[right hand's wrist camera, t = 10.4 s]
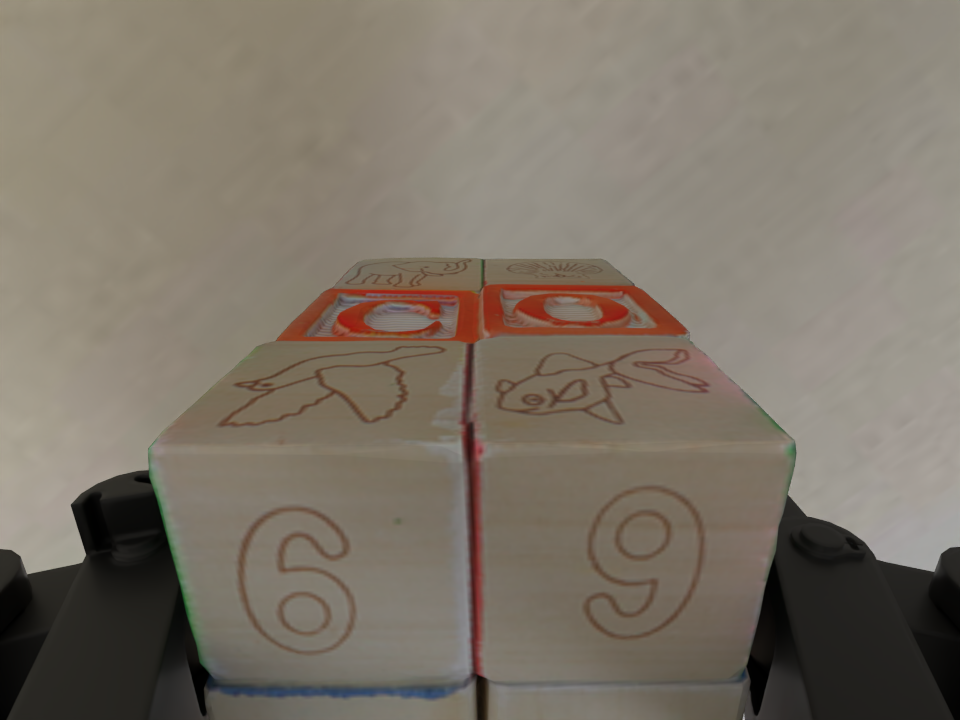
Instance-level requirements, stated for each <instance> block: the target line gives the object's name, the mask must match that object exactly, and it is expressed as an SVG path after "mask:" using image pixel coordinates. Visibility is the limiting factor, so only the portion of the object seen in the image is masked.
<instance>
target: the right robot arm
mask: <svg viewBox="0 0 960 720" xmlns="http://www.w3.org/2000/svg"><path fill="white" fill-rule="evenodd" d="M71 507H72V511H73V514H74V517H75V520H76V523H77V527H78V530H79V533H80V536H81V539H82V543H83V546H84V549H85V552H86V557H85V559H84V561H83V563H79V564H76V565H71V566H66V567H61V568H56V569H51V570H46V571H41V572H37V573H32V574H27V573H26V570H25V568H24V565H23V562H22V560H21V557H20V556H19V555H18V554H16V553H15V552H13V551H12V550H4V549H0V720H210V719H209V716H208V713H207V710H206V705H205V697H204V687H205V685H206V682H207V679H208V676H209V673H208V671H207V670H206V669H205V668H204V667H203V666H202V665H201V664H200V661H199V655H198V650H197V645H196V642H195V640H194V637H193V634H192V631H191V627H190V624H189V621H188V617H187V614H186V609H185V605H184V600H183V596H182V591H181V587H180V583H179V579H178V576H177V572H176V568H175V565H174V561H173V558H172V554H171V550H170V547H169V543H168V539H167V535H166V532H165V528H164V524H163V520H162V516H161V512H160V509H159V505H158V501H157V498H156V495H155V492H154V489H153V486H152V483H151V480H150V477H149V470H146V471H136V472H131V473H127V474H123V475H118V476H116V477H113V478H111V479H108V480H106V481H103V482H100V483H98V484H96V485H95V486H93V487H91V488H90V489H88V490H86V491H85V492H83V493H82V494H80V496H79V497H78V498H77V499H76V500H75V501H74V502H73V503H72V504H71ZM746 667H747V670H748V674H749V677H750V680H751V683H750V688H749V692H748V697H747V701H746V706H745V710H744V715H745V720H960V547H953V548H949V549H948V550H946V551H945V552H943V553H942V554H941V556H940V558H939V561H938V564H937V567H936V569H935V572H931V571H926V570H921V569H917V568H912V567H907V566H902V565H897V564H892V563H887V562H883V561H879V560H876V558H875V556H874V554H873V553H872V551H871V550H870V549H869V547H868V546H867V545H866V544H865V542H863V541H862V540H861V539H859V538H858V537H857V536H855V535H854V534H852V533H851V532H850V531H848V530H846V529H843V528H841V527H839V526H837V525H835V524H833V523H830V522H827V521H823V520H820V519H816V518H812V517H807V516H806V515H805V514H804V513H803V511H802V510H801V509H800V508H799V507H798V506H797V505H796V503H795V502H794V501H793V500H792V499H791V498H790V497H789V496H788V495H787V499H786V504H785V508H784V512H783V515H782V518H781V521H780V524H779V527H778V536H777V546H776V552H775V555H774V558H773V561H772V564H771V567H770V571H769V575H768V578H767V582H766V586H765V590H764V595H763V601H762V606H761V611H760V616H759V620H758V624H757V628H756V632H755V636H754V640H753V644H752V648H751V652H750V655H749V659H748V663H747V665H746Z"/></svg>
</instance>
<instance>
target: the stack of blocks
mask: <svg viewBox="0 0 960 720" xmlns="http://www.w3.org/2000/svg"><path fill="white" fill-rule="evenodd" d="M689 336H690V332H689V331H688V330H687V329H686V328H685V327H684V326H683V325H682V324H681V323H680V322H679V321H678V320H676V319H675V318H674V317H673V316H672V315H671V314H670V313H669V312H668V311H666V310H665V309H664V308H663V307H662V306H661V305H660V304H658V303H657V302H656V301H655V300H654V299H652V298H651V297H650V296H649V295H648V294H647V293H646V292H644V291H643V290H642V289H640V288H638V287H636V286H635V285H634V283H633V282H631V281H630V280H629V279H627V278H626V277H625V276H624V275H622V274H621V273H620V272H619V271H618V270H617V269H615V268H614V267H613V266H612V265H611V264H609V263H608V262H607V261H606V260H603V259H487V260H483V259H476V258H388V259H372V260H363V261H361V262H358V263H357V264H355V265H354V266H353V267H352V268H351V269H350V270H349V271H348V272H347V273H346V274H345V275H344V276H343V277H342V278H341V279H340V280H339V282H337V283H336V285H335V286H334V287H333V288H332V289H329V290H326V291H325V292H323V293H322V294H321V295H320V296H319V297H318V298H317V299H316V300H315V301H314V302H313V303H312V304H311V305H310V306H309V307H308V308H307V309H306V310H305V311H304V312H303V313H302V314H301V315H299V316H298V317H297V318H296V319H295V320H294V321H293V322H292V323H291V324H290V325H289V326H288V327H287V328H286V330H285V331H284V332H283V333H282V334H281V335H280V336H279V337H278V338H277V340H276V341H275V342H269V343H265V344H263V345H260V346H257V347H256V348H255V349H254V350H253V351H252V352H251V353H250V354H249V355H248V356H247V357H246V358H244V359H243V360H242V361H241V362H240V363H239V364H238V365H237V366H236V367H235V368H234V369H232V370H231V371H230V372H229V373H228V374H227V375H225V376H224V377H223V378H222V379H221V380H220V381H218V382H217V383H216V384H215V385H214V386H213V387H212V388H211V389H210V390H208V391H207V392H206V393H205V394H204V395H203V396H202V397H201V398H200V399H199V400H198V401H197V402H196V403H194V404H193V405H192V406H191V407H190V408H189V409H188V410H186V411H185V412H184V413H183V414H182V415H181V416H180V417H179V418H177V419H176V420H175V421H174V422H173V423H172V424H171V425H169V426H168V427H167V428H166V429H165V430H164V431H163V432H162V433H161V434H160V435H159V436H158V438H157V439H156V440H155V441H154V442H153V444H152V445H151V446H150V447H149V449H148V460H149V477H150V480H151V483H152V486H153V489H154V492H155V495H156V498H157V501H158V505H159V509H160V512H161V516H162V520H163V524H164V528H165V532H166V535H167V539H168V543H169V547H170V550H171V554H172V558H173V561H174V565H175V568H176V572H177V576H178V579H179V583H180V587H181V591H182V596H183V600H184V605H185V609H186V614H187V617H188V621H189V624H190V627H191V631H192V634H193V637H194V640H195V642H196V645H197V650H198V655H199V661H200V664H201V665H202V666H203V667H204V668H205V669H206V670H207V671H208V673H209V676H208V679H207V682H206V685H205V687H204V697H205V705H206V710H207V713H208V716H209V719H210V720H742V718H743V714H744V710H745V706H746V701H747V697H748V692H749V688H750V683H751V680H750V677H749V674H748V670H747V667H746V665H747V663H748V659H749V655H750V652H751V648H752V644H753V640H754V636H755V632H756V628H757V624H758V620H759V616H760V611H761V606H762V601H763V595H764V590H765V586H766V582H767V578H768V575H769V571H770V567H771V564H772V561H773V558H774V555H775V552H776V546H777V536H778V527H779V524H780V521H781V518H782V515H783V512H784V508H785V504H786V499H787V495H788V491H789V486H790V483H791V479H792V475H793V471H794V467H795V460H796V445H795V440H793V439H792V438H791V437H790V436H789V435H788V434H787V433H786V432H785V431H784V430H783V429H782V428H781V427H780V426H779V425H778V424H777V423H776V422H775V421H774V420H773V419H772V418H771V417H770V416H769V415H768V414H767V413H766V412H765V411H764V410H763V409H762V408H761V407H760V406H759V405H758V404H757V403H756V402H755V401H754V400H753V399H752V398H751V397H750V396H749V395H748V394H746V393H745V392H744V391H743V390H742V389H741V388H740V387H739V386H738V385H737V384H736V383H735V382H734V381H733V380H731V379H730V378H729V377H728V376H727V375H726V374H725V373H724V372H723V371H722V370H720V369H719V368H718V366H717V365H716V364H715V363H714V362H713V361H712V360H711V359H710V358H709V357H708V356H707V355H706V354H705V353H703V352H702V351H701V350H700V349H698V348H697V347H695V345H694V344H693V342H691V341H690V340H689Z"/></svg>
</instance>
